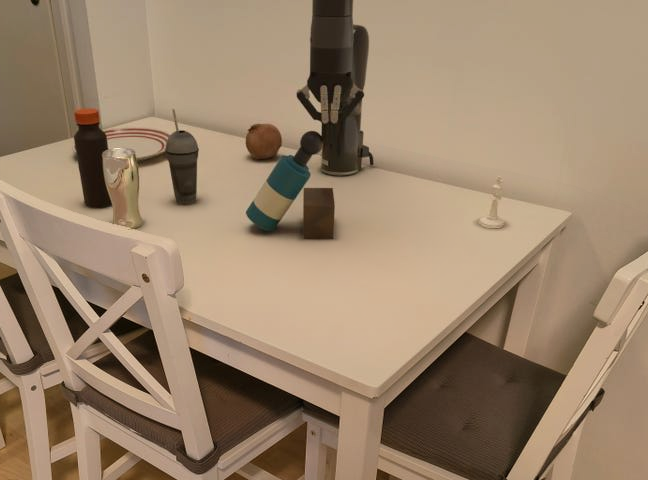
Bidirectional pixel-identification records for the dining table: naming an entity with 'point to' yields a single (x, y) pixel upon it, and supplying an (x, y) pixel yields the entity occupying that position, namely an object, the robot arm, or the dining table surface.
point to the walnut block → (318, 213)
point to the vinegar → (91, 157)
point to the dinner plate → (137, 141)
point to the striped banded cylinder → (284, 184)
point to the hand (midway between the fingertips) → (328, 142)
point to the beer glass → (122, 185)
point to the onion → (263, 141)
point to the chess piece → (494, 208)
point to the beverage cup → (183, 164)
